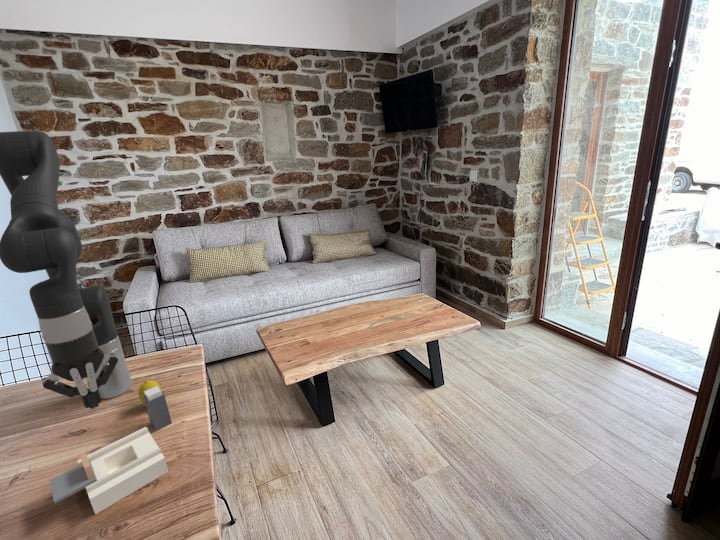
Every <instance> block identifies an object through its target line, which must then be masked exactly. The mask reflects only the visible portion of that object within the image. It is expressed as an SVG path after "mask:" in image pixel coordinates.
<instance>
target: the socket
mask: <svg viewBox="0 0 720 540" xmlns="http://www.w3.org/2000/svg"><path fill="white" fill-rule="evenodd" d="M86 455H87V458H88V460H90V462H91V465H92V468H93V471H94V473H95V476H96V479H97V481H96V482H94V483H92V484H90V485H88V486H86V487H85V490H86V493H87V495H88V499H89V501H90V504H91V507H92V509H93V510H92V511H93V513H94V515H97V514H98V513H100V512H101V511H104V510H106V509H107V508H109V507H110V506H112V505H114V504H115V503H117V502H119V501H121V500H122V499H124V498H126V497H127V496H129V495H131V494H133V493H134V492H136V491H138V490H139V489H141V488H143V487H145V486H146V485H148V484H150V483H151V482H153V481H156V480H157V479H159V477H163V476H164V475H165V474H167V473H168V472H169V468H168V463H167V462H166V461H167V460H166V457H165V456H164V453H162V449H161V447H159V445H158V444H157V443H156V441H155V439H154V438H153V436H152V435H151V433H150V430H149V428H148V427H146V426H144V427H142V428H140V429H138V430H136V431H134V432H132V433H130V434H128V435H126V436H124V437H122V438H120V439H118V440H115V441H114V442H112V443H110V444H108V445H106V446H104V447H101V448H99V449H97V450H96V451H93V452H91V453H89V454H86ZM77 464H78V465H77V466H79V465H81V464H83V463H82V460H81V458H79V459H77Z"/></svg>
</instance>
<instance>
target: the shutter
mask: <svg viewBox="0 0 720 540" xmlns="http://www.w3.org/2000/svg"><path fill="white" fill-rule="evenodd" d="M87 455H88V454H87V453H86V452H84V453H82V454H79V456H80V459H81V460H82V463H83V464H81V465H77V466H75V467H74V468H71V469H70V470H68V471H66V472H63V473H61V474H60V475H57V476H55V477H53V478H51V479H50V480H49V484H50V489H51V494H52V498H53V499H52V500H53V502H54V505H55V504H57V503H60V502H62V501H63V500H65V499H66V498H68V497H70V496H72V495H74V494H76V493H78V492H80V491H81V490H85V489H86V486H88V485H90V484H92V483H94V482H96V481H97V479H96V476H95V473H94V471H93V468H92V465H91V462H90V460H88V458H87Z"/></svg>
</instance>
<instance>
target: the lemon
mask: <svg viewBox="0 0 720 540" xmlns="http://www.w3.org/2000/svg"><path fill="white" fill-rule="evenodd" d="M156 386H158V387H159V388H160V390H161V391H162V388H161V386H160V384H159V383H158V382H157V381H155V380H151V379H150V380H146V381H144V382H143V383H142V384H140V386H139V388H138V398H139V400H140V402H141V403H142V404H143V405H145V401H144V398H143V395H145V394H144V391H146V390H149V389H151V388H153V387H156Z"/></svg>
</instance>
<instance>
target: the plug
mask: <svg viewBox="0 0 720 540" xmlns="http://www.w3.org/2000/svg"><path fill="white" fill-rule="evenodd" d="M144 394H145V395H143V398H144V401H145V404H144V405H145V407H146V411H147V414H148V419H149V421H150V425H151V426H152V428H153V430H154V431H155V432H157V431H160V430H162V429H164V428H165V427H167V426H169V425H172V423H173V422H172V418H171V415H170V414H171V413H170V411H169V407H168V403H167V400H166V396H165V393H164V392H163V391H162V389H161V390H160V388H159V387H158V386H156V387H153V388H151V389H149V390H146V391H144Z"/></svg>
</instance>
